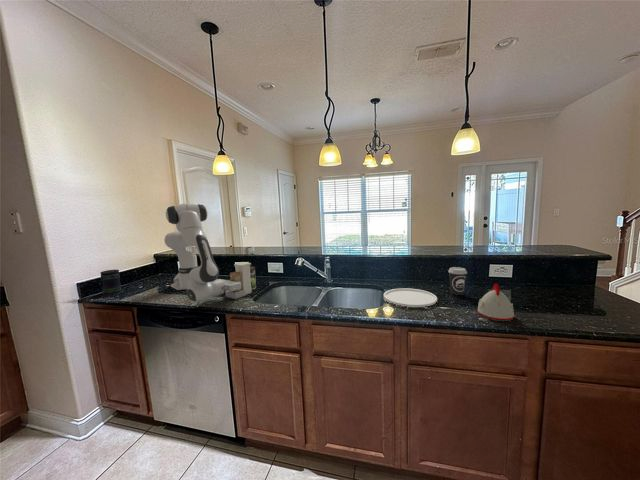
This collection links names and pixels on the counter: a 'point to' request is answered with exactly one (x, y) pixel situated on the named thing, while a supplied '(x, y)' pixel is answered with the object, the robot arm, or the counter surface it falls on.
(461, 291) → the coffee cup
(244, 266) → the boot
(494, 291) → the kitchen timer
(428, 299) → the plate
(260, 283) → the counter surface
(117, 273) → the storage jar
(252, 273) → the coffee can
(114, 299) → the counter surface
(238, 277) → the tan rectangular block
